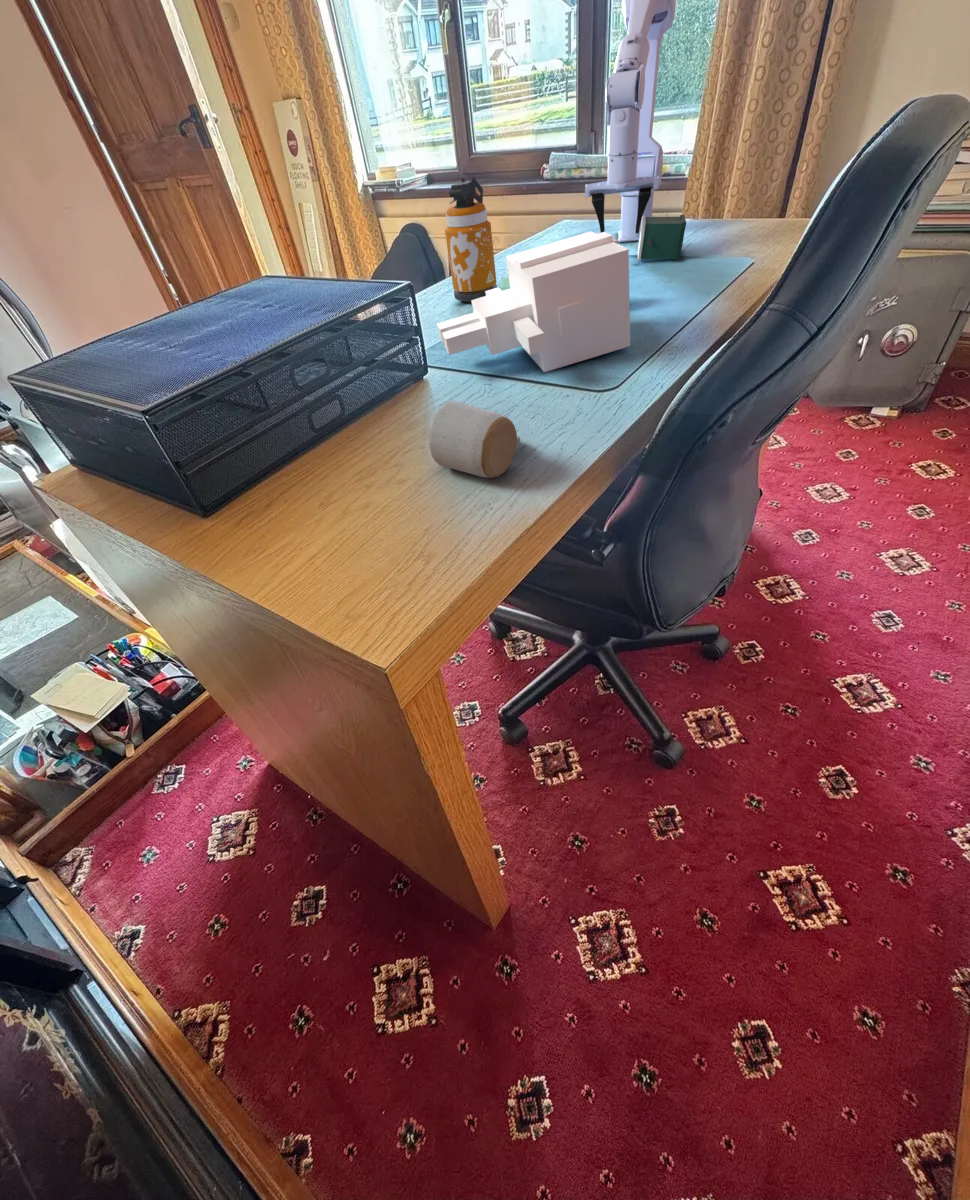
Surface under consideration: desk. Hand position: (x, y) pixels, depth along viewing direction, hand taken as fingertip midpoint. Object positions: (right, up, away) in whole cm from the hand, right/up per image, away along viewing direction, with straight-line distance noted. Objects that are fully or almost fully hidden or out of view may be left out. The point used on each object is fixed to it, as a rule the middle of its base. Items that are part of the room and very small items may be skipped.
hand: (619, 233), depth 120 cm
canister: (-30, -14, -2) cm, 34 cm away
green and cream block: (+9, -4, +2) cm, 10 cm away
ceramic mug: (-29, -62, -51) cm, 85 cm away
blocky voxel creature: (-21, -39, -29) cm, 53 cm away
